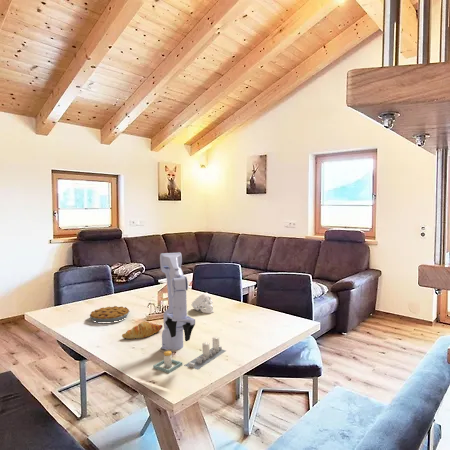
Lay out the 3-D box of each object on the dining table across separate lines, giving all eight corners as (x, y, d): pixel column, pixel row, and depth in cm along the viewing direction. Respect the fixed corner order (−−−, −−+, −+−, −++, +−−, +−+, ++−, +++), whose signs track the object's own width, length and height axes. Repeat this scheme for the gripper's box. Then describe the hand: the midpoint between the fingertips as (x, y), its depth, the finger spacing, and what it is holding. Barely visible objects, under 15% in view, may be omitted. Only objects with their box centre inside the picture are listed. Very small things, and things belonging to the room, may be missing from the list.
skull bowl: (208, 313, 212) (200, 294, 216) (194, 321, 220) (186, 303, 224) (220, 308, 220) (212, 290, 224) (206, 317, 228) (198, 299, 232)
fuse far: (211, 351, 159) (211, 338, 159) (215, 349, 162) (214, 336, 161) (217, 353, 158) (216, 339, 157) (220, 350, 160) (220, 337, 160)
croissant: (124, 348, 175) (126, 336, 171) (117, 333, 182) (119, 322, 178) (164, 337, 187) (167, 326, 184) (157, 324, 194) (159, 312, 190)
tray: (153, 369, 144) (153, 365, 144) (167, 362, 151) (167, 357, 151) (169, 375, 140) (168, 370, 140) (182, 366, 147) (182, 362, 147)
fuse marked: (162, 367, 145) (162, 352, 145) (168, 364, 148) (167, 350, 148) (168, 369, 144) (167, 354, 143) (173, 366, 146) (173, 351, 146)
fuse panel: (184, 367, 146) (183, 362, 146) (213, 349, 164) (213, 344, 164) (198, 371, 143) (197, 366, 143) (226, 352, 160) (226, 347, 160)
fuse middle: (201, 358, 153) (201, 344, 152) (205, 355, 155) (205, 341, 155) (207, 359, 151) (206, 345, 151) (211, 357, 154) (210, 343, 153)
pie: (135, 313, 220) (134, 304, 220) (121, 325, 198) (120, 316, 198) (100, 312, 222) (100, 304, 222) (82, 324, 200) (82, 315, 200)
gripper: (159, 306, 150) (160, 338, 151) (187, 311, 142) (187, 345, 143) (171, 301, 156) (172, 332, 157) (198, 307, 148) (198, 339, 149)
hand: (180, 338), depth 150 cm, fingers open, 7 cm apart
